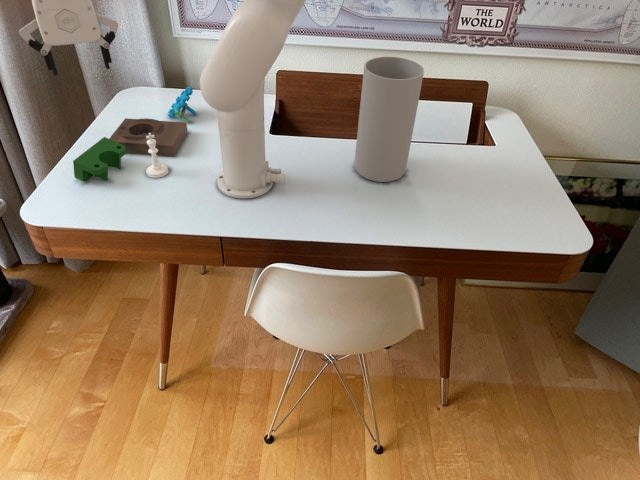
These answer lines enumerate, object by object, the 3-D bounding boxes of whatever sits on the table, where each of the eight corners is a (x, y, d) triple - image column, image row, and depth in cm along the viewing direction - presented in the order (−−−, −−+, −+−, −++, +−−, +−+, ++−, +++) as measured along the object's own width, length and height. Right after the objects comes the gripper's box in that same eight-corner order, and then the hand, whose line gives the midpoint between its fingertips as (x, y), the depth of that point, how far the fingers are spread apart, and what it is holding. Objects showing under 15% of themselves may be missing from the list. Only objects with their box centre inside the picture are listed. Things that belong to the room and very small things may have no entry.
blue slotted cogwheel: (170, 100, 138) (191, 78, 133) (187, 113, 141) (209, 92, 136) (161, 123, 131) (184, 101, 125) (180, 136, 134) (202, 116, 129)
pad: (188, 131, 128) (187, 121, 126) (174, 156, 119) (172, 145, 117) (128, 127, 129) (126, 116, 127) (109, 152, 119) (106, 141, 117)
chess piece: (169, 175, 113) (162, 137, 106) (147, 179, 111) (139, 140, 104) (166, 164, 116) (159, 126, 109) (145, 168, 114) (136, 129, 108)
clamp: (104, 197, 112) (93, 178, 104) (81, 187, 112) (68, 167, 104) (132, 157, 117) (123, 135, 109) (109, 148, 117) (99, 125, 109)
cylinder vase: (388, 189, 112) (405, 85, 95) (343, 170, 117) (352, 68, 101) (414, 167, 120) (434, 67, 103) (371, 150, 125) (384, 52, 109)
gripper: (-2, -17, 81) (34, 83, 92) (108, -24, 87) (129, 71, 98) (-1, -28, 86) (33, 68, 97) (103, -34, 92) (124, 57, 103)
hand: (81, 69), depth 97 cm, fingers open, 9 cm apart
